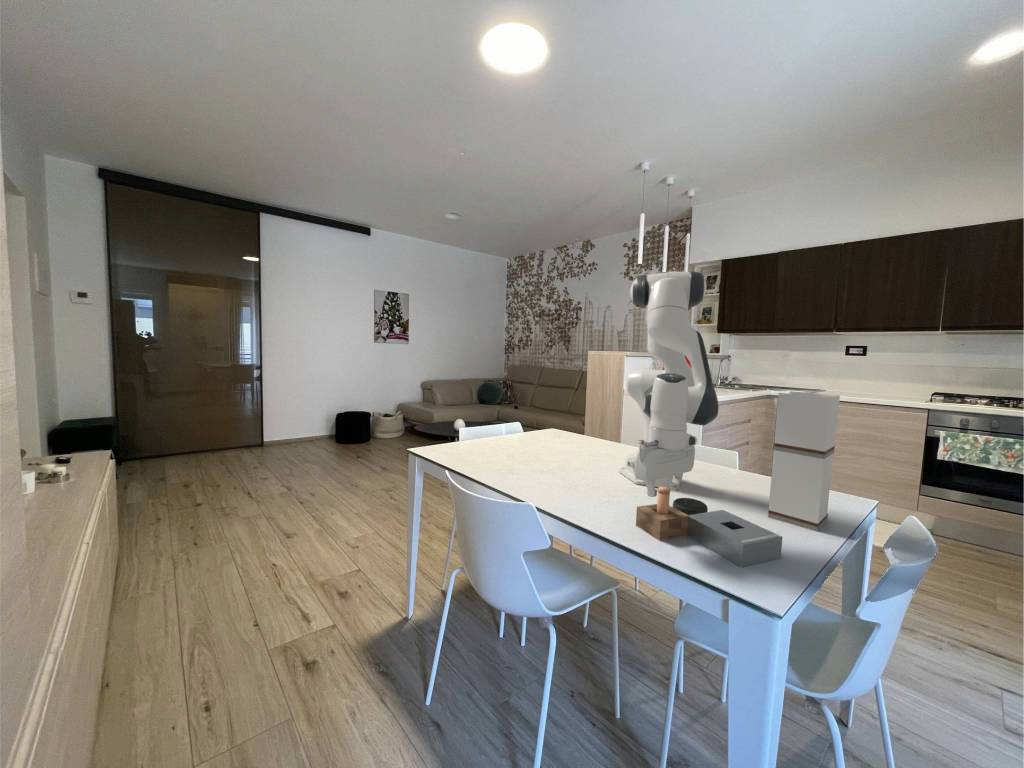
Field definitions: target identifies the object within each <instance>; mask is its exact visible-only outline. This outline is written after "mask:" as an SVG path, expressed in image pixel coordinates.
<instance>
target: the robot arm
mask: <svg viewBox="0 0 1024 768" xmlns="http://www.w3.org/2000/svg"><path fill="white" fill-rule="evenodd" d="M706 293H707V282H706V280H705V277H704V275H703V274H702V272H698V271H693V270H692V271H691V270H690V271H689V272H688V271H667V272H659V273H658V272H657V273H651V274H641V275H638V276H636V277H635V278H634V279H633V282H632V284H631V286H630V289H629V295H630V299H631V301H632V304H633V305H634V307H636V308H638V309H639V308H640V309H646V308H647V309H646V310H647V311H646V327H647V351H648V354H649V355H650V356H651V357H652V358H654V359H656V360H657V361H659V362H661V364H662V365H663V369H652V368H651V369H647V368H646V369H645V368H644V369H637V370H632V371H631V372H630V373H629V374H628V376H627V378H626V381H625V389H626V392H627V394H628V395H629V396H630V397H631V398H632V399H633V400H634V401H635V403H637V406H638V407H639V409H640V411H641V413H642V417H643V418H642V419H643V439H642V440H641V439H640V440H639V439H638V444H640V446H639V448H638V449H637V450H636V451H635V452H632V454H629V455H628V456H627V457H626V460H625V466H623V467H621V468H619V469H618V472H619V474H621V475H622V476H624V477H626V478H627V479H628V480H629V481H631V482H632V483H634V484H636V485H641V486H644V485H645V486H646V491H647V492H646V493H647V496H648V497H650V498H655V497H658V489H656V488H658V487H668V488H670V491H673V492H675V491H679V490H680V485H681V482H682V480H683V476H684V473H689V472H691V471H692V470H693V468H694V464H695V458H696V457H695V455H696V448H695V446H696V445H697V442H698V438H697V437H696V435H692V434H690V433H688V425H687V424H692V425H698V426H706V425H708V424H711V423H712V422H713V421H714V420H715V419H716V418H717V417H718V414H719V409H720V406H719V405H720V404H719V400H718V399H719V398H718V396H717V393H716V390H715V386H714V383H713V379H712V374H711V369H710V364H709V360H708V354H707V350H706V346H705V341H704V339H703V336H702V334H701V332H700V331H697V330H696V329H695V328H694V327H693V325H692V324H691V322H690V319H689V310H691V309H692V308H693V307H695V306H698V305H699V304H700V303H701V302H703V301H704V297H705V295H706ZM686 358H687V359H686ZM687 360H688V361H689V363H690V365H689V363H688V362H687Z"/></svg>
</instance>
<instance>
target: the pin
mask: <svg viewBox="0 0 1024 768" xmlns="http://www.w3.org/2000/svg"><path fill="white" fill-rule="evenodd" d="M657 488H658V489H657V500H656V502H657V503H656V504H657V513H659V514H661V515H667V514H669V505H670V499H671V498H670V494H671V489H670V487H669V488H668V487H657Z"/></svg>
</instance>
